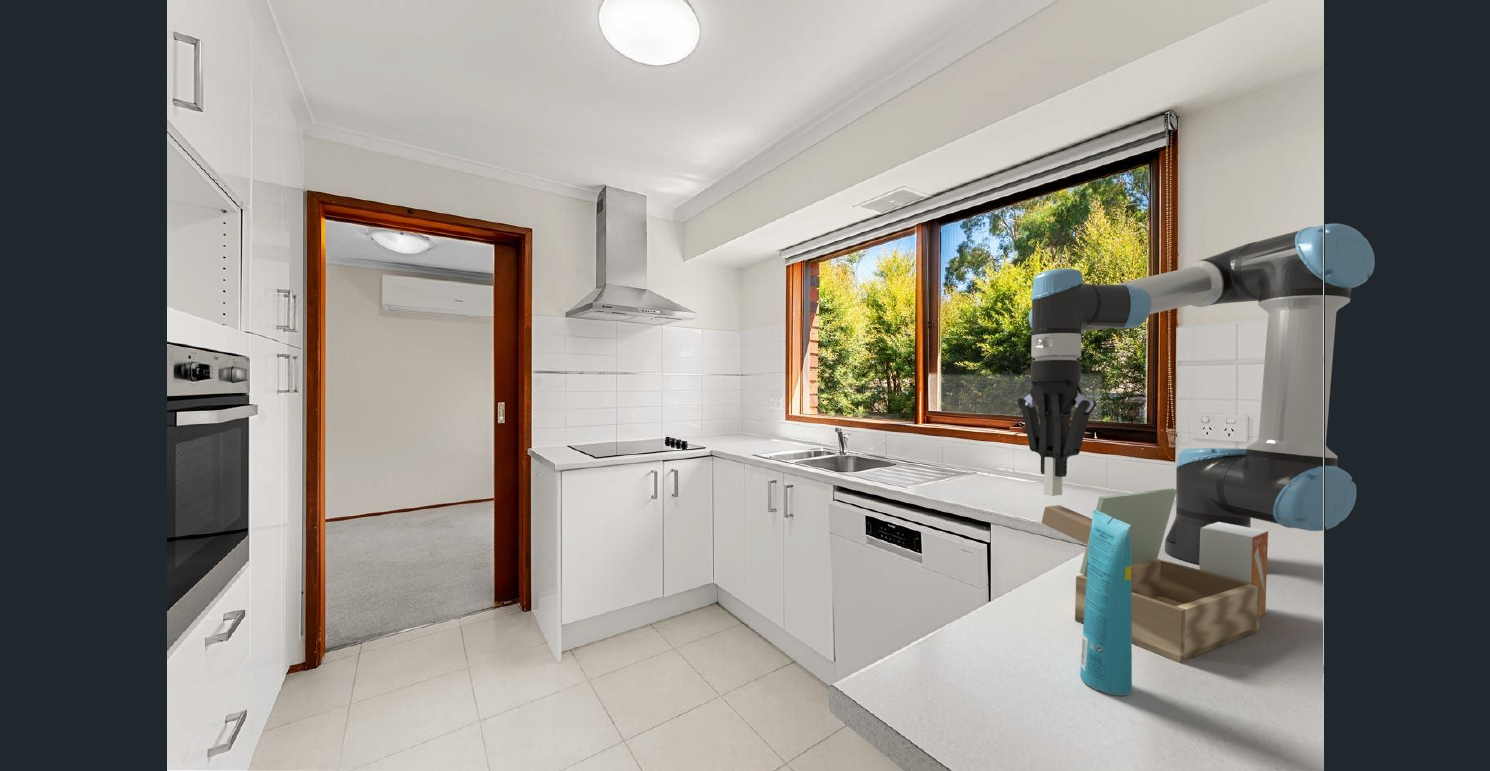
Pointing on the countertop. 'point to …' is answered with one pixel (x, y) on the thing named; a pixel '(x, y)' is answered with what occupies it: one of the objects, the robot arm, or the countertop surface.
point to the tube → (1108, 608)
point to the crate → (1184, 609)
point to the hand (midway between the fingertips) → (1053, 494)
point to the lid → (1133, 508)
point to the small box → (1235, 554)
